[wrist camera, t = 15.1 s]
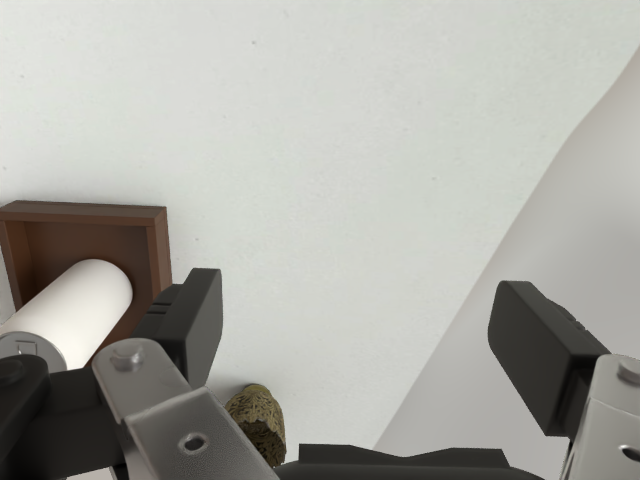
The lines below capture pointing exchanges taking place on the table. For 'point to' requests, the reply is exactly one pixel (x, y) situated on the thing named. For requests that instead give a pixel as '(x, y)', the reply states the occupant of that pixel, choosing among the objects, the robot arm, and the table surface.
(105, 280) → the can
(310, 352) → the table surface
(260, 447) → the cup
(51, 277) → the tray
